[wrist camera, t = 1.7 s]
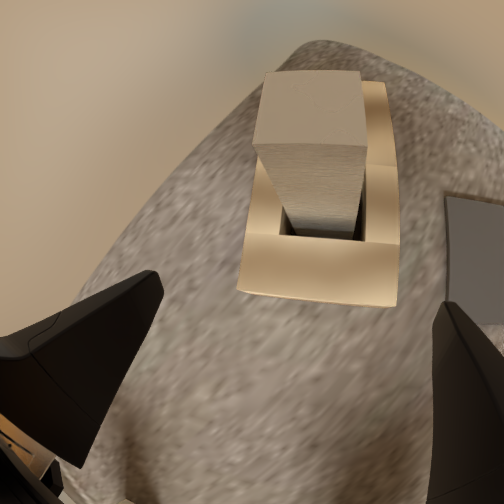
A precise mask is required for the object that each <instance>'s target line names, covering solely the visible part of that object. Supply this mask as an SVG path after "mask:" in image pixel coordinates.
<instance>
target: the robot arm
mask: <svg viewBox="0 0 504 504" xmlns="http://www.w3.org/2000/svg"><path fill="white" fill-rule="evenodd" d="M163 296H164V289H163V286H162V283H161V280H160V277H159V275H158V273H157V272H156V271H152V270H145V271H142V272H140V273H138V274H136V275H134V276H132V277H130V278H128V279H125V280H123V281H121V282H119V283H117V284H115V285H113V286H111V287H109V288H107V289H105V290H103V291H100V292H98V293H96V294H94V295H92V296H90V297H88V298H86V299H84V300H82V301H80V302H78V303H76V304H74V305H72V306H70V307H68V308H66V309H64V310H62V311H60V312H58V313H56V314H54V315H52V316H50V317H48V318H46V319H44V320H42V321H40V322H38V323H35V324H33V325H31V326H28V327H26V328H24V329H22V330H19V331H17V332H15V333H13V334H10V335H8V336H4V337H0V504H64V503H63V502H62V501H61V500H59V499H58V497H59V495H60V494H61V492H62V490H63V489H64V487H63V482H62V477H61V471H60V465H59V462H58V461H57V460H56V459H55V457H56V455H57V456H58V457H60V458H62V459H63V460H65V461H67V462H68V463H70V464H72V465H74V466H75V467H77V468H79V469H81V468H82V467H83V465H84V463H85V460H86V458H87V456H88V453H89V451H90V449H91V447H92V444H93V442H94V440H95V438H96V436H97V433H98V431H99V429H100V427H101V426H100V425H101V424H102V422H103V420H104V418H105V416H106V414H107V412H108V410H109V407H110V405H111V403H112V401H113V399H114V397H115V395H116V393H117V391H118V389H119V387H120V385H121V383H122V381H123V379H124V377H125V375H126V373H127V371H128V369H129V367H130V365H131V364H132V362H133V360H134V358H135V356H136V354H137V352H138V350H139V348H140V346H141V345H142V343H143V341H144V339H145V337H146V335H147V333H148V331H149V329H150V327H151V324H152V322H153V320H154V317H155V315H156V313H157V310H158V308H159V306H160V303H161V301H162V299H163ZM432 339H433V356H432V383H433V446H432V460H431V471H430V479H429V487H428V494H427V501H426V504H504V357H503V356H502V354H501V353H500V352H499V351H498V349H497V348H496V347H495V346H494V345H493V343H492V342H491V341H490V340H489V339H488V337H487V336H486V335H485V334H484V333H483V332H482V330H481V329H480V328H479V327H478V326H477V325H476V324H475V323H474V322H473V320H472V319H471V318H470V317H469V316H468V315H467V314H466V313H465V312H464V311H463V310H462V309H461V307H460V306H459V305H458V304H457V303H456V302H453V301H444V302H442V303H441V305H440V307H439V310H438V312H437V315H436V317H435V319H434V322H433V327H432Z"/></svg>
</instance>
